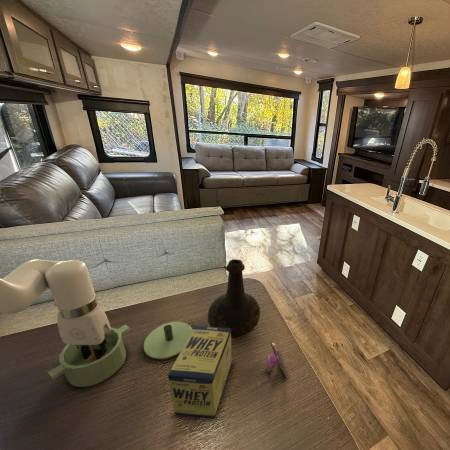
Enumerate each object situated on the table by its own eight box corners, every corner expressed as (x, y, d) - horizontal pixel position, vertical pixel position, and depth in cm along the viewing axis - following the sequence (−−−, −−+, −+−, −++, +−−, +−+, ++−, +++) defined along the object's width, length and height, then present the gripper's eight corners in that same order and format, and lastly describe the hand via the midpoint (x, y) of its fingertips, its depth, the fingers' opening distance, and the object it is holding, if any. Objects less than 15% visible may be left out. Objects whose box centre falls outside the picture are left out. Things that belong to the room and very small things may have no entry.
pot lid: (134, 346, 79) (130, 333, 77) (174, 318, 91) (172, 305, 89) (164, 368, 73) (161, 354, 71) (202, 335, 85) (201, 322, 83)
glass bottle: (203, 319, 92) (197, 254, 81) (248, 304, 101) (249, 244, 90) (217, 356, 78) (213, 285, 67) (267, 334, 88) (271, 269, 77)
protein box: (174, 416, 62) (166, 375, 56) (199, 361, 76) (195, 323, 70) (215, 420, 62) (212, 379, 56) (232, 364, 77) (231, 326, 70)
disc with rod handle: (83, 365, 72) (75, 342, 68) (103, 352, 76) (96, 330, 72) (93, 373, 70) (85, 351, 66) (112, 360, 74) (106, 338, 70)
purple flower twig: (282, 364, 71) (273, 340, 78) (266, 374, 69) (257, 348, 77) (288, 376, 74) (278, 352, 82) (272, 386, 73) (264, 360, 80)
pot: (45, 379, 68) (36, 360, 65) (119, 332, 83) (114, 315, 80) (70, 406, 62) (61, 386, 59) (144, 350, 78) (140, 333, 75)
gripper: (31, 315, 60) (54, 366, 67) (101, 317, 61) (116, 367, 68) (57, 294, 67) (76, 343, 74) (120, 297, 68) (132, 345, 75)
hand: (95, 354), depth 71 cm, fingers closed
